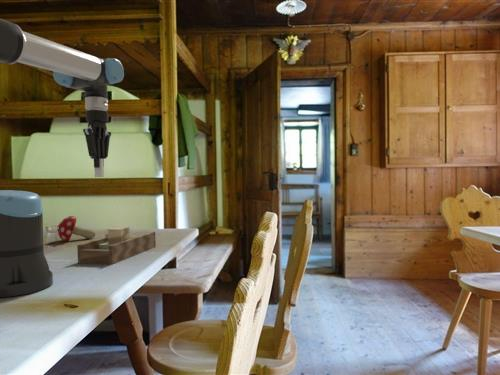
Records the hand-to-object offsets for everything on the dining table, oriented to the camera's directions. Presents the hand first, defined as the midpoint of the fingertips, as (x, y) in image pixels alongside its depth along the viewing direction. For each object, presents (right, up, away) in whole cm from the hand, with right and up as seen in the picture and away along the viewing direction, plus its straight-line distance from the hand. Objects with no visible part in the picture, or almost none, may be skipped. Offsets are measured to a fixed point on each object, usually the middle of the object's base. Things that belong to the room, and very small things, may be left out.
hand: (99, 176), depth 133 cm
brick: (-1, -26, +22) cm, 34 cm away
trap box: (+10, -26, -7) cm, 29 cm away
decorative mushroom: (-19, -26, +24) cm, 40 cm away
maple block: (+10, -23, -8) cm, 26 cm away
